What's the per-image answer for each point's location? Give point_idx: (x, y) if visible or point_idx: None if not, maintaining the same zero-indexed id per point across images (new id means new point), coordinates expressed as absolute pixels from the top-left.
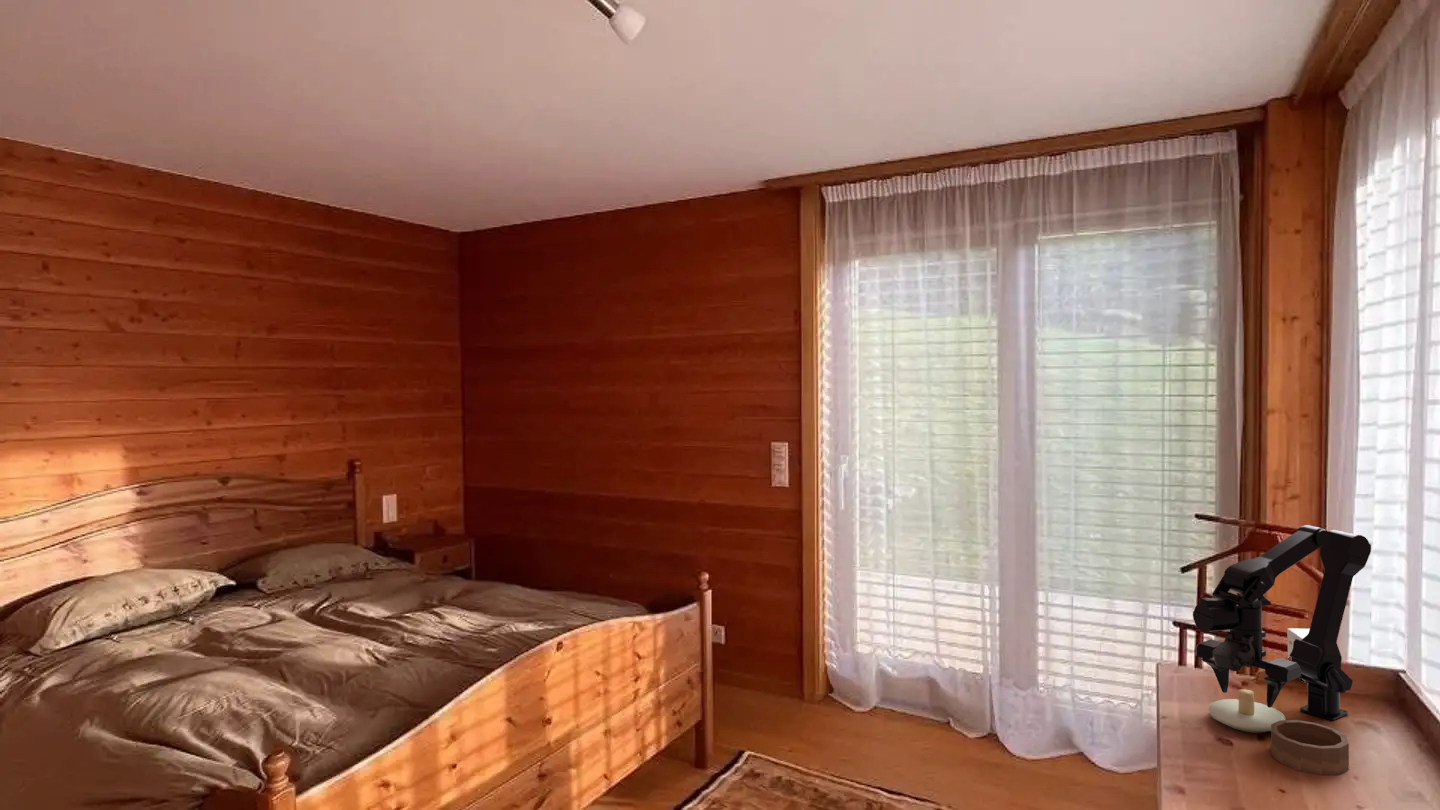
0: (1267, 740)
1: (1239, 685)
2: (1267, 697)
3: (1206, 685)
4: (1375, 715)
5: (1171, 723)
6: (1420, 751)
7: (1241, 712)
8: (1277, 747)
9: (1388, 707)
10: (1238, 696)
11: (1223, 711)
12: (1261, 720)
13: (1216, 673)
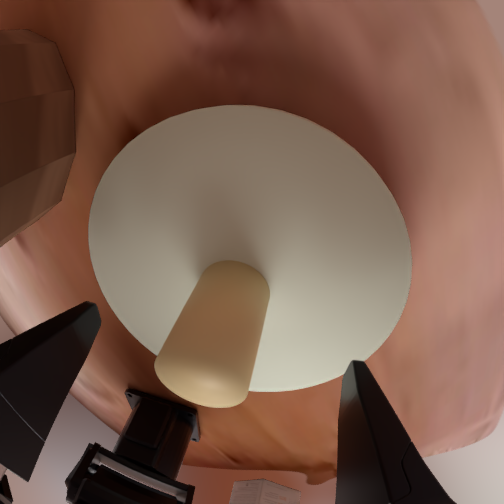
0: (114, 153)
1: None
2: (50, 331)
3: (428, 420)
4: (122, 422)
5: (483, 32)
6: (11, 327)
7: (241, 266)
8: (3, 35)
9: None
10: (249, 343)
11: (326, 227)
12: (141, 242)
13: (412, 469)
